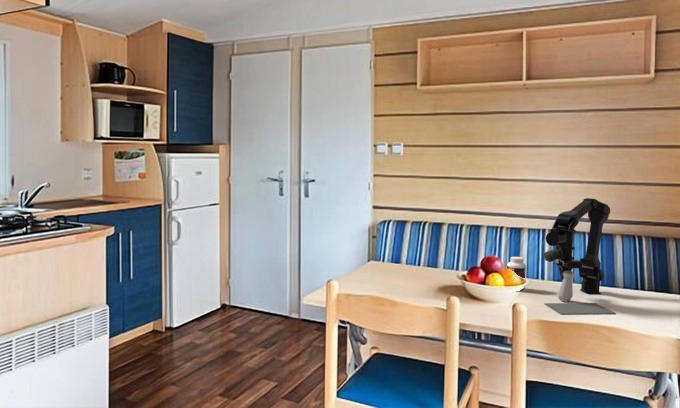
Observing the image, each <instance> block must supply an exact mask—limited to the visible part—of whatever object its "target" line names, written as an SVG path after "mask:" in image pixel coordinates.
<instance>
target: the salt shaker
mask: <svg viewBox="0 0 680 408" xmlns="http://www.w3.org/2000/svg"><path fill="white" fill-rule="evenodd" d="M563 277H564V279H563V281H562V280H561V284H560V286H559V289H558V291H557V297H558V300H559V301H561V302H562V303H569V301H571V300H572V298H573V295H574V294H573V280H574V278H575V277H576V276H575V272H573V270H571V271H569V270H566V271H564V273H563Z"/></svg>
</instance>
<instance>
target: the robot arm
mask: <svg viewBox="0 0 680 408" xmlns="http://www.w3.org/2000/svg"><path fill="white" fill-rule="evenodd" d="M610 214H611V207H610V206H609V205H608V204H606V203H604V202H601V201H599V200H598V199H596V198H590V197H587V198H583V200H582V201H581V202H579V204H577V205H576V206H574V207H572V208H571V210H570V209H569V210H567V211H563V212H560V213H559V214H558V215H557V217H556V219H555V221H554V223H553V225H552V227H551V229H550V232H548V233H547V234H546V235H545V242H546V244H547V245H549V246H551V247H554V249H549V250H547V251H545V252H543V253H542V254H543V257H544V260H545V261H547V263H551V262H553V264H554V265H555V266H556V267H557V268H558V272H559V275H560V279H561V282H562V281H563V279H564V277H563V273H564V271H566V270H569V271H573V269H578V274H579V278H582V281H581V288H580V292H583V293H585V294H588V295H592V294H594V295H601V294H602V292H601V291H600V285H601V284H600V282H603V281H604V278H605V274H604V271H603V270H602V269H601V268H602V265H601V264H602V263H601V262H600V259H599V251H600V245H601V238H602V235H603V234H602V233H603V226H604V224H605V223H606V222H607V220H608V219H609V217H610ZM585 215H587V217H588V220H589V222H590V225H589V233H588V237H587V245H586V251H585V254H584V256H583V257H581V258H580V259H579V260H578V259H575V257H574V256H573V251H575V249H576V247H575V246H574V234H576V233H577V231H576V229H575V228H576V227H577V226H578V225H579V223H580V221H579V220H580V219H581V218H582V217H584V216H585ZM554 261H555V262H554Z"/></svg>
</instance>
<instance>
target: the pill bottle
mask: <svg viewBox="0 0 680 408" xmlns="http://www.w3.org/2000/svg"><path fill="white" fill-rule="evenodd" d="M507 269H510V270H512V271H514V272H515V273H516V274H517V275H518V276H520V277H522V278H525V279H526V273H527V271H526V270H527V265H526V264H525V263H524V257H521V256H510V260H509V261H508V263H507V264H506V270H507ZM525 288H526V286H525V287H524V288H523V290H522V291H524V290H525Z"/></svg>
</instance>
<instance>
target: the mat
mask: <svg viewBox="0 0 680 408" xmlns="http://www.w3.org/2000/svg"><path fill="white" fill-rule="evenodd" d="M543 305H545V306H546V307H548V308H549V309H552V311H555V312H556V313H557V314H559V315H562V316H563V315H616V314H617V312H615V311H613V310H611V309H609V308H608V307H605V306H603V305H602V304H599V303H597V302H556V303H555V302H550V303H549V302H547V303H546V302H544V303H543Z"/></svg>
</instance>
